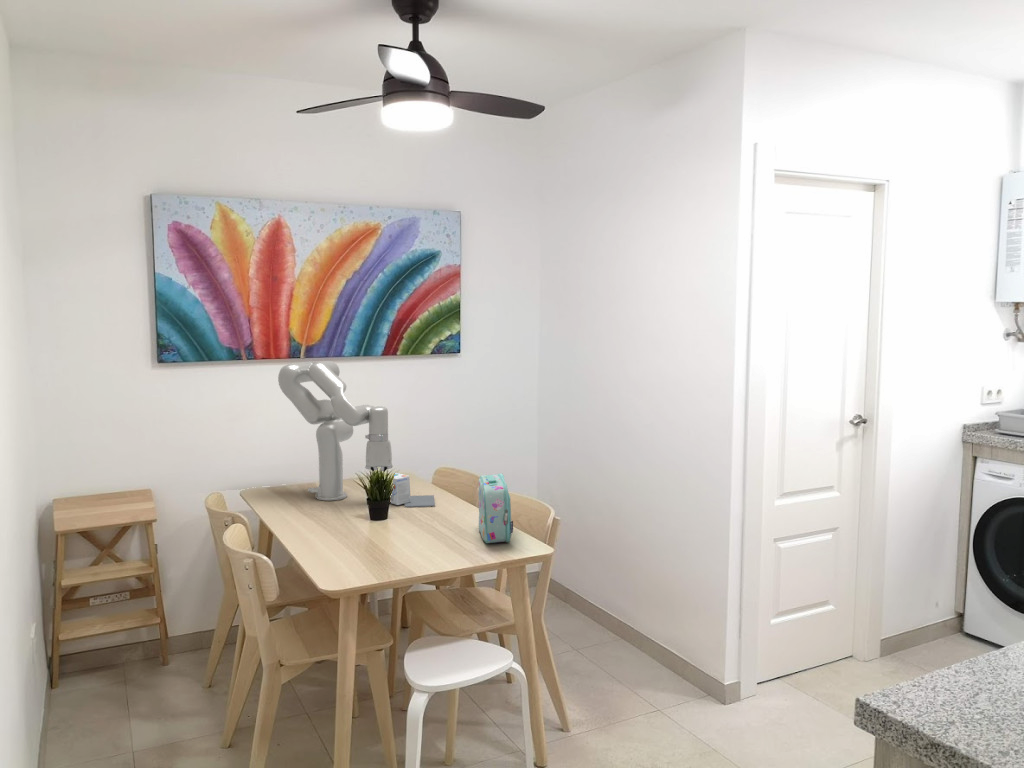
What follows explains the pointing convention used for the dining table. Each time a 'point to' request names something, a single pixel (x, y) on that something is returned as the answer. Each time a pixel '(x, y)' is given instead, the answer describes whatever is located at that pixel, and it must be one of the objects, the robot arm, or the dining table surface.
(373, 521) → the dining table surface
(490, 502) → the lunch box
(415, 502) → the mat
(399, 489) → the light bulb box
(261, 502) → the dining table surface
